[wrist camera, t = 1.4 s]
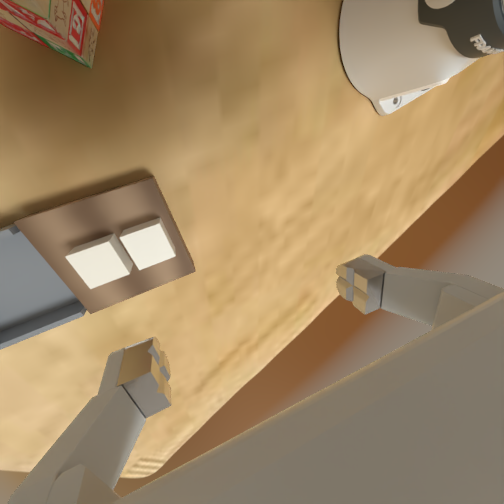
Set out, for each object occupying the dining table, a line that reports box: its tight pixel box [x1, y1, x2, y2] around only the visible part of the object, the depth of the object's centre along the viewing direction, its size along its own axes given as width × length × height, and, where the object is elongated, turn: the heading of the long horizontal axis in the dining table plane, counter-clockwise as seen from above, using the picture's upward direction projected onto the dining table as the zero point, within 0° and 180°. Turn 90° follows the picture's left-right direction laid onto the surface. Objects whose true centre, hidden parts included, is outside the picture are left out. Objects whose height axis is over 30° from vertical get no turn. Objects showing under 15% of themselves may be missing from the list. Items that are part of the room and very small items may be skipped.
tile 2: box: [119, 217, 176, 270], centre depth 24 cm, size 4×4×2 cm
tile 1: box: [65, 233, 133, 289], centre depth 23 cm, size 4×4×2 cm
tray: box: [0, 224, 87, 350], centre depth 23 cm, size 11×11×4 cm
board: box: [13, 176, 195, 314], centre depth 26 cm, size 13×12×3 cm
